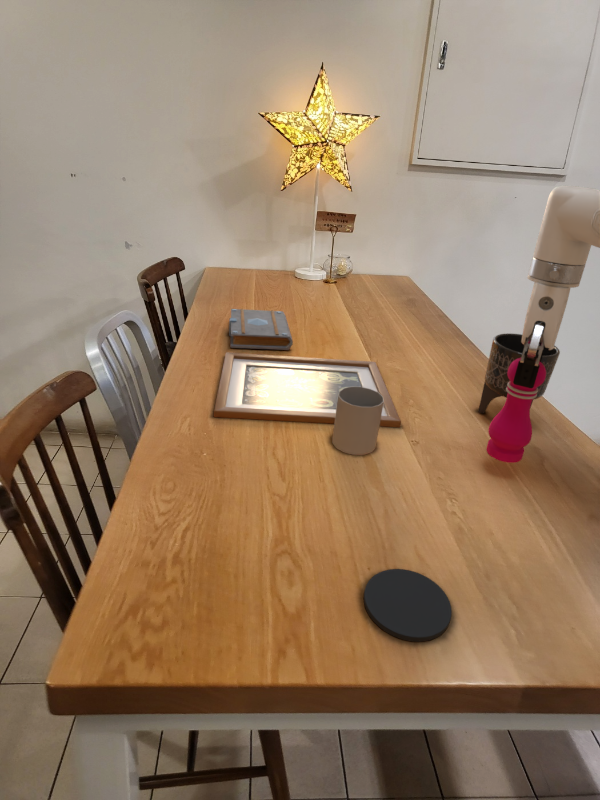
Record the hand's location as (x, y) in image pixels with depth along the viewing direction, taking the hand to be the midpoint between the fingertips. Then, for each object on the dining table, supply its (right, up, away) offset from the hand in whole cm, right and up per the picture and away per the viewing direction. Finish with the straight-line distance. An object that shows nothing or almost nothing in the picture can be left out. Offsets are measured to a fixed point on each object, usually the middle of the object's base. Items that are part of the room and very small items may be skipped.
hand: (525, 378), depth 91 cm
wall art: (-37, -1, +32) cm, 49 cm away
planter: (+6, -8, +27) cm, 29 cm away
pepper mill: (-1, -14, +7) cm, 15 cm away
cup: (-28, -12, +12) cm, 33 cm away
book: (-50, +14, +60) cm, 79 cm away
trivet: (-24, -30, -22) cm, 45 cm away
